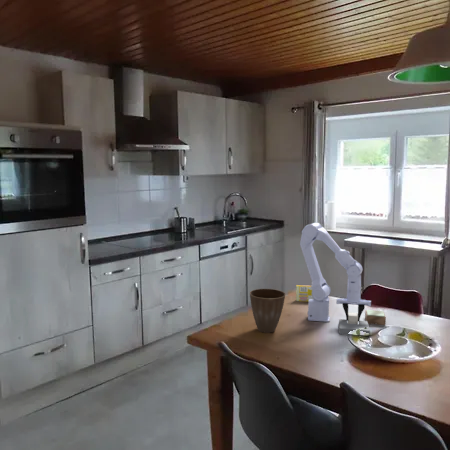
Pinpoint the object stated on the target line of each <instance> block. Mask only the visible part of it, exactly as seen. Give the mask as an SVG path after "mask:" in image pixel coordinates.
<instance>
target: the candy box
mask: <svg viewBox="0 0 450 450" xmlns="http://www.w3.org/2000/svg"><path fill="white" fill-rule="evenodd" d="M295 287H296V288H295V290H296V291H295V292H296V293H295V295H296V297H295V301H296V302H309V299H313V297H312V287H311V285H307V284H306V285H298V284H296V285H295Z"/></svg>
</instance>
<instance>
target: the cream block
mask: <svg viewBox="0 0 450 450" xmlns="http://www.w3.org/2000/svg"><path fill="white" fill-rule="evenodd" d="M347 322H348V324H359V322H358V312H349V311H348V321H347Z"/></svg>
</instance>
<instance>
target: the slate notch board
mask: <svg viewBox="0 0 450 450" xmlns="http://www.w3.org/2000/svg"><path fill="white" fill-rule="evenodd" d="M369 325H370V324H368V321H366V320H359V322H358V324H348V321H347V320H346V319H344V318H342V319H341V318H339V319H338V330H339V331H338V333H339V335H347V334H348V333H349V332H350V331H353V330H356V329H359V328H364V327H369V328H367V329H361V330H360V331H363V332H366V333H369V334H370V333H371V329H370V326H369ZM347 336H348V335H347Z"/></svg>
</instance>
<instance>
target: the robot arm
mask: <svg viewBox="0 0 450 450" xmlns="http://www.w3.org/2000/svg"><path fill="white" fill-rule="evenodd" d="M316 240H317V241H321V242H323V243H324V244H325V245H326V246H327V247H328V248H329V249H330V250H331V252H333V253H334V258H335V260H336V261H338V263H339V264H340V265H341V267H343V268H344V270H346V271H345V272H346V275H347V286H346V287H347V289H346V297H345V298H336V305H341V304H342V308H343V311H344V313H345V317H346V319H345V320H347V322H348V312H349V305H353V306H354V305H356V306H357V314H358V323H359V321H361V319H360V318H361V316H362V313H363V312H364V310H365V307H366V306H367V307H372V300H366V299H362V298H361V294H362V293H361V292H362V290H361V289H362V272H363V270H364V269H363V266H362V264H361V263H360V262H359V261H357V260H356V259H354V258H353V256H352V255H350V254H351V252H350V251H349V250H346V249H344V248H343V249H342V248H341V247H340V246H339V245H338V243H337V242H336V241H335V240H334V239H333V237H332V236H331V234H329V232H328V231H327V230H326V228H325V227H323V225H322V224H321V223H319V222H318V221H317V222H316V221H315V222H312V223H308V224H307V225H305V226H304V227H303V229H302V230H301V237H300V241H299V246H300V249H301V252H302V255H303V258H304V261H305V265H306V266H307V270H308V273H309V276H310V280H311V285H310V286H311V287H312V297H313V299H309V301H308V303H307V304H308V310H307V321H315V322H325V323H326V322H328V323H330V318H331V317H330V298H329V296H330V294H331V287H330V285H328V283H327V281H326V279H325V278H324V276H323V274H322V270H321V267H320V264H319V262H318V259H317V256H316V252H315V249H314V245H313V244H314V242H315V241H316Z"/></svg>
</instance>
